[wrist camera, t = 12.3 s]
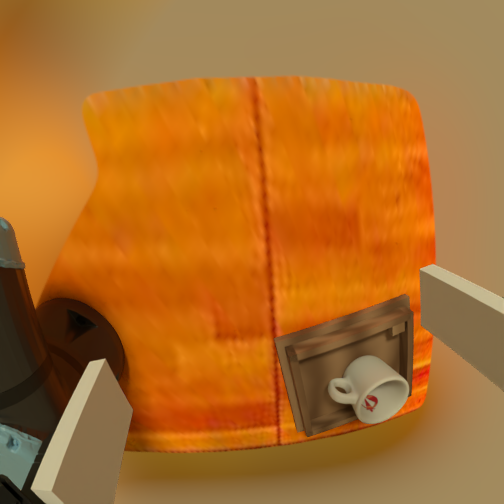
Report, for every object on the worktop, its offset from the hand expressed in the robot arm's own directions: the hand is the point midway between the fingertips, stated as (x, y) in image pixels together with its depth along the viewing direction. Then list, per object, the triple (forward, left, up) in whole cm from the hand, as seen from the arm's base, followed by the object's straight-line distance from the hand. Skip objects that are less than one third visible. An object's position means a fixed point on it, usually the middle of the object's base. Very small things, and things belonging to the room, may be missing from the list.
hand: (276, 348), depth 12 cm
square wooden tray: (+12, -25, -27) cm, 38 cm away
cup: (+12, -25, -26) cm, 37 cm away
